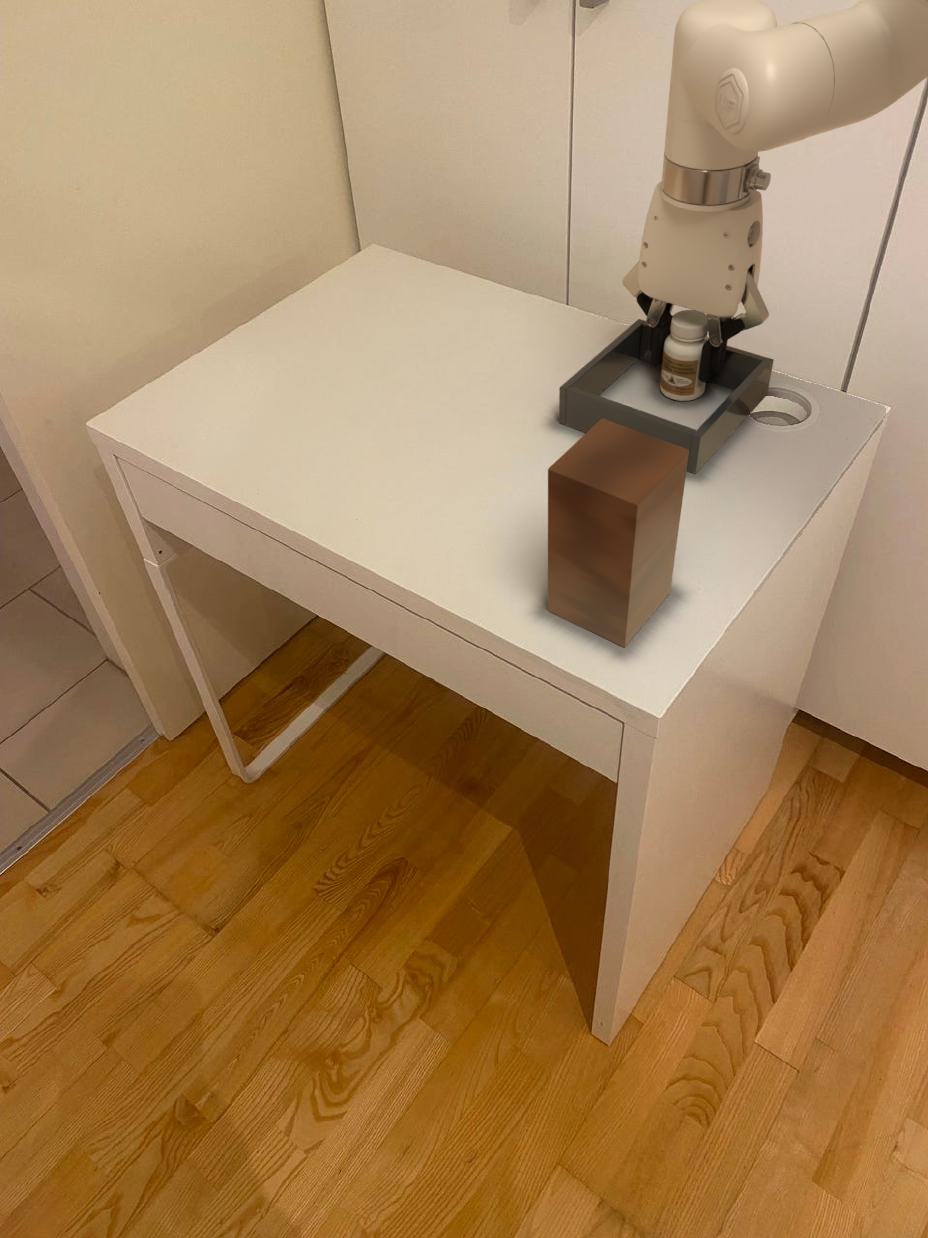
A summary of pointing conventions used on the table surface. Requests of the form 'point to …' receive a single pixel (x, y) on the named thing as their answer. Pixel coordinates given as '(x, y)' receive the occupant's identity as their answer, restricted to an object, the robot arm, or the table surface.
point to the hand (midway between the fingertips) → (684, 365)
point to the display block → (613, 529)
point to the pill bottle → (684, 356)
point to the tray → (588, 408)
